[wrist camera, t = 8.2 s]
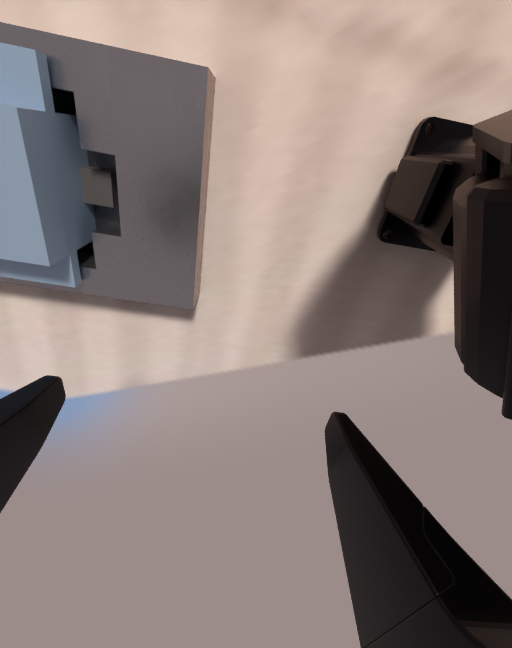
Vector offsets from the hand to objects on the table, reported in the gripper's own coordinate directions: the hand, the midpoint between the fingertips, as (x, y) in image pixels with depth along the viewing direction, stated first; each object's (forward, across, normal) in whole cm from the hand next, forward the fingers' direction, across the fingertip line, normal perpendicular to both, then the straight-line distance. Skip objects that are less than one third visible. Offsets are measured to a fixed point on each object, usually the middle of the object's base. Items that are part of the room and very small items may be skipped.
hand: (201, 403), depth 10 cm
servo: (+12, +11, -4) cm, 16 cm away
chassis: (+12, +10, -4) cm, 16 cm away
